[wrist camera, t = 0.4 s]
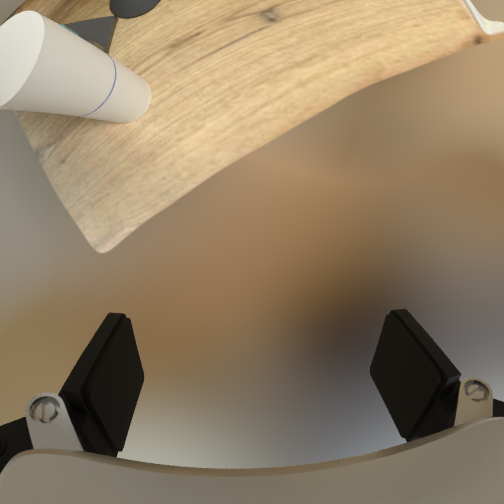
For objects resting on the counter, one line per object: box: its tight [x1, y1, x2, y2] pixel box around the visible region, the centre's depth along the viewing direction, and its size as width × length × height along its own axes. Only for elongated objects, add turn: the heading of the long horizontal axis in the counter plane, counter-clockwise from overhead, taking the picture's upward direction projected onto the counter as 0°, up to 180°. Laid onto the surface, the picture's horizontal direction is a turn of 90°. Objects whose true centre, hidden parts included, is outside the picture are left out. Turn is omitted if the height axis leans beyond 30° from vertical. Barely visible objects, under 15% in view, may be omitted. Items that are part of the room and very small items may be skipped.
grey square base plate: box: [65, 16, 118, 54], centre depth 26 cm, size 13×13×7 cm
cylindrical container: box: [0, 11, 151, 124], centre depth 21 cm, size 7×7×25 cm
